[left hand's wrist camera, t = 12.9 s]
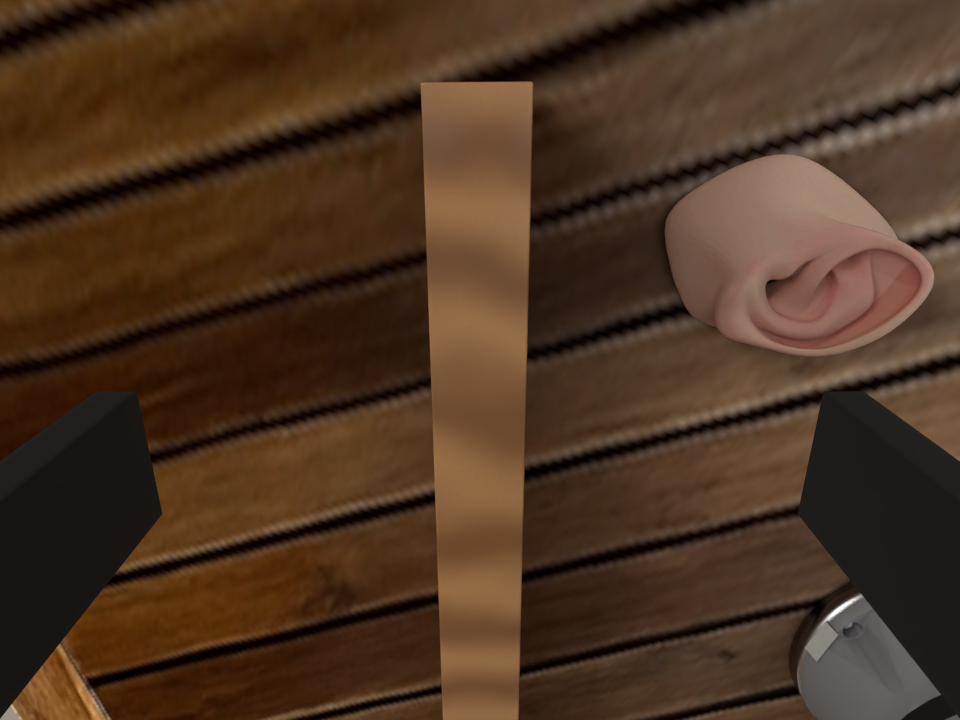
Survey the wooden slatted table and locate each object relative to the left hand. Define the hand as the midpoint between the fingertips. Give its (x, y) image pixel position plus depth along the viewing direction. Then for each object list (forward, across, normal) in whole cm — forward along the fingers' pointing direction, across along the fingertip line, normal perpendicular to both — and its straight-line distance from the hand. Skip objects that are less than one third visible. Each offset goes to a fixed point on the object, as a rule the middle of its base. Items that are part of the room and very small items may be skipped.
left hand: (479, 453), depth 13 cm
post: (+27, 0, -20) cm, 34 cm away
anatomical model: (+27, +18, -2) cm, 32 cm away
